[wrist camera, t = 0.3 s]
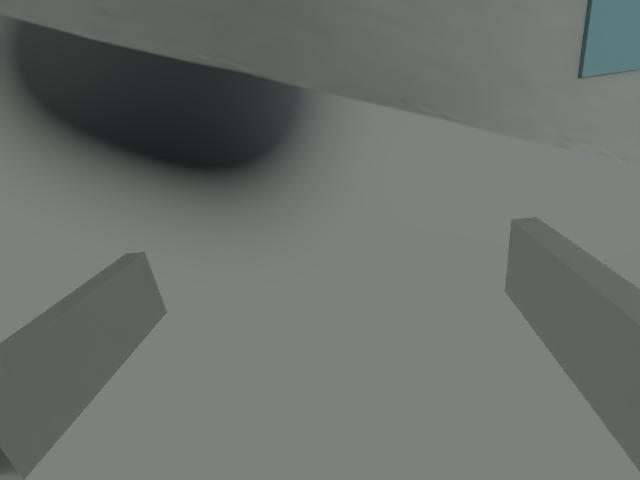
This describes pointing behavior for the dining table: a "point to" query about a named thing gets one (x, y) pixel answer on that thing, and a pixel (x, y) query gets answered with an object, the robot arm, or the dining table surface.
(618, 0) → the teal mat
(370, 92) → the dining table surface
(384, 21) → the dining table surface
